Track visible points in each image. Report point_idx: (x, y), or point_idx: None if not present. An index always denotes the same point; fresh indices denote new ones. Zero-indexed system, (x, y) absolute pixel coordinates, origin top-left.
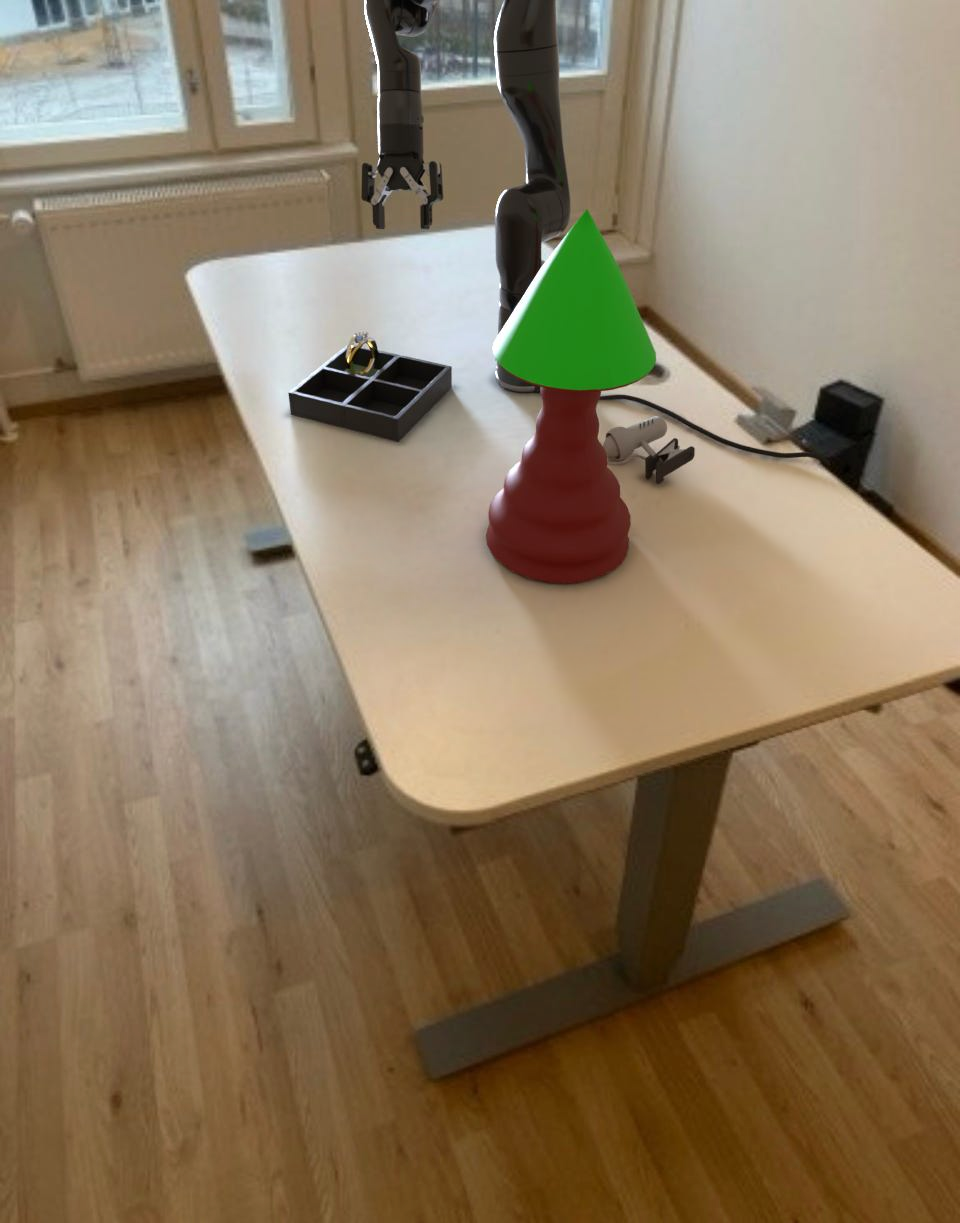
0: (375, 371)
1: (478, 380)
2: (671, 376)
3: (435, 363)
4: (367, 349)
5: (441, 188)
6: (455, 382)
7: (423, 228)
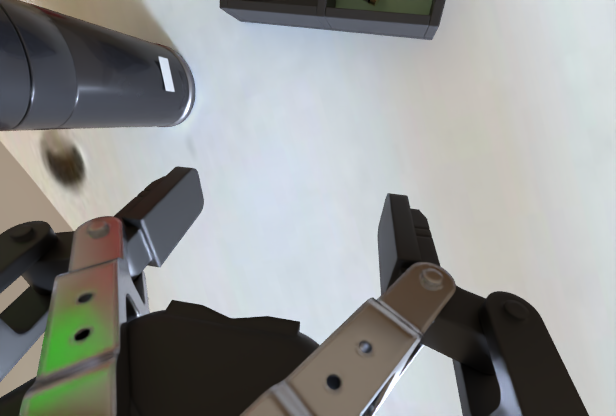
0: (371, 10)
1: (214, 65)
2: (40, 157)
3: (248, 7)
4: (390, 12)
5: (4, 313)
6: (241, 45)
7: (185, 167)
